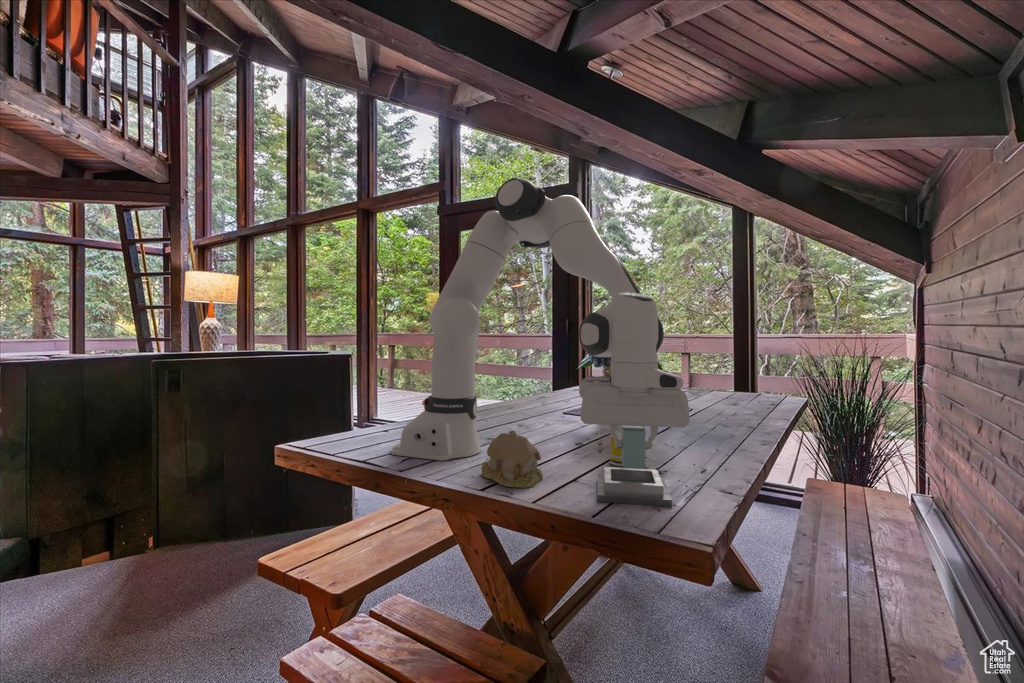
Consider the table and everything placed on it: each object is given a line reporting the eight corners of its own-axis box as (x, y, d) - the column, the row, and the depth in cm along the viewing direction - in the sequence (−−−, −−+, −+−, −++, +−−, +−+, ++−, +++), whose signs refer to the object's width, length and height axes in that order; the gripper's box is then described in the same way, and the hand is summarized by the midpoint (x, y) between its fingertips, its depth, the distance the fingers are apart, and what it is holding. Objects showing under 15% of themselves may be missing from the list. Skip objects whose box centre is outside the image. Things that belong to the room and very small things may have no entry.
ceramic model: (554, 478, 102) (554, 431, 101) (521, 492, 93) (522, 440, 93) (502, 466, 110) (502, 423, 110) (468, 478, 102) (468, 430, 101)
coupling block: (623, 468, 91) (623, 431, 90) (621, 460, 96) (622, 425, 96) (645, 469, 90) (645, 431, 90) (642, 461, 95) (642, 426, 95)
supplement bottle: (634, 467, 109) (635, 425, 109) (610, 466, 111) (610, 423, 110) (633, 461, 115) (633, 420, 115) (610, 460, 116) (610, 419, 116)
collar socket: (597, 501, 88) (597, 484, 88) (597, 479, 100) (597, 464, 100) (671, 506, 85) (672, 488, 85) (662, 483, 98) (662, 468, 98)
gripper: (578, 377, 91) (578, 449, 92) (692, 379, 88) (691, 455, 88) (579, 374, 97) (579, 442, 98) (685, 376, 94) (684, 446, 94)
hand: (633, 448), depth 93 cm, fingers closed on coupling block, 4 cm apart
